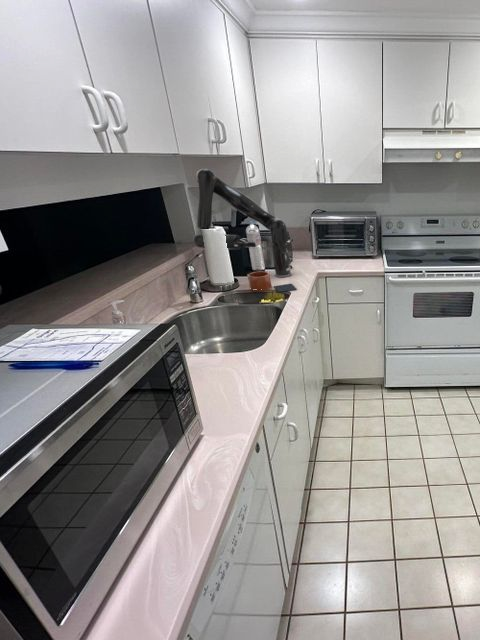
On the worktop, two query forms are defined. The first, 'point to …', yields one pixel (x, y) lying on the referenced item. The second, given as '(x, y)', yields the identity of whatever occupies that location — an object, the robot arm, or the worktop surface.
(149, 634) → the worktop surface
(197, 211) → the robot arm
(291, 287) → the dish mat
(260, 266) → the water bottle
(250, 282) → the pot
